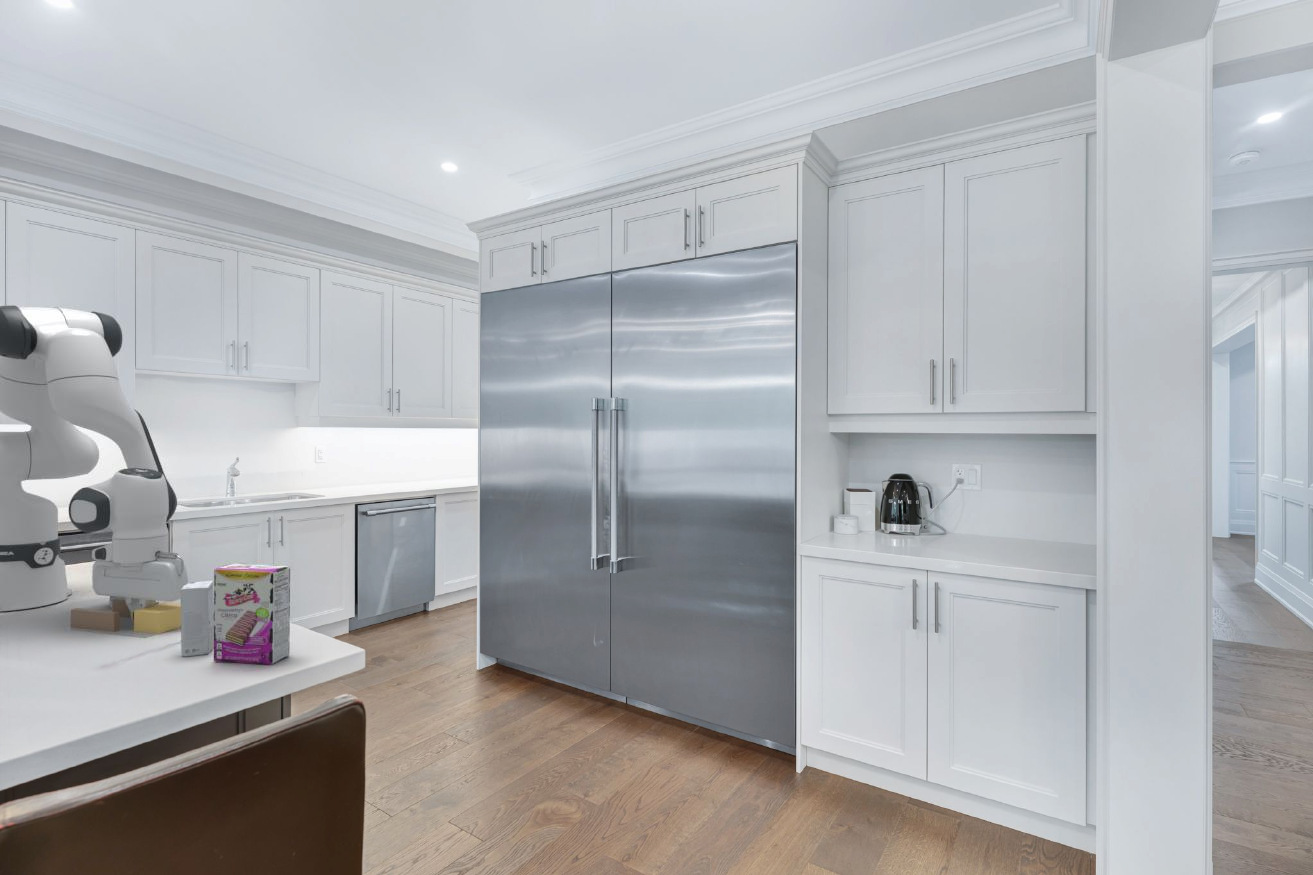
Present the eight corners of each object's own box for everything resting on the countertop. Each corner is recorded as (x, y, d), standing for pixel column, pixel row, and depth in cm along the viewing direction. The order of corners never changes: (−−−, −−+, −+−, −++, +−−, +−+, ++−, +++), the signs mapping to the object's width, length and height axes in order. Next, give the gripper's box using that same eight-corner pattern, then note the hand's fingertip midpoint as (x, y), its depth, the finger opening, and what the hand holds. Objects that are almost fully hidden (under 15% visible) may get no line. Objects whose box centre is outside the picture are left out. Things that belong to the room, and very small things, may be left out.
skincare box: (209, 654, 117) (210, 586, 117) (179, 657, 115) (179, 589, 115) (215, 643, 122) (216, 579, 122) (186, 647, 120) (187, 581, 120)
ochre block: (133, 631, 126) (134, 610, 126) (164, 622, 132) (164, 602, 132) (158, 633, 125) (158, 612, 125) (187, 624, 130) (187, 604, 130)
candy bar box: (211, 662, 113) (211, 568, 112) (233, 653, 118) (233, 562, 117) (272, 666, 111) (272, 570, 111) (291, 656, 116) (291, 564, 116)
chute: (64, 633, 127) (64, 610, 127) (122, 618, 138) (122, 596, 137) (144, 643, 122) (144, 619, 122) (198, 626, 133) (198, 604, 133)
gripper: (197, 550, 130) (197, 619, 130) (118, 545, 135) (118, 611, 135) (167, 556, 124) (166, 628, 124) (84, 550, 128) (84, 620, 129)
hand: (140, 619), depth 129 cm, fingers closed
